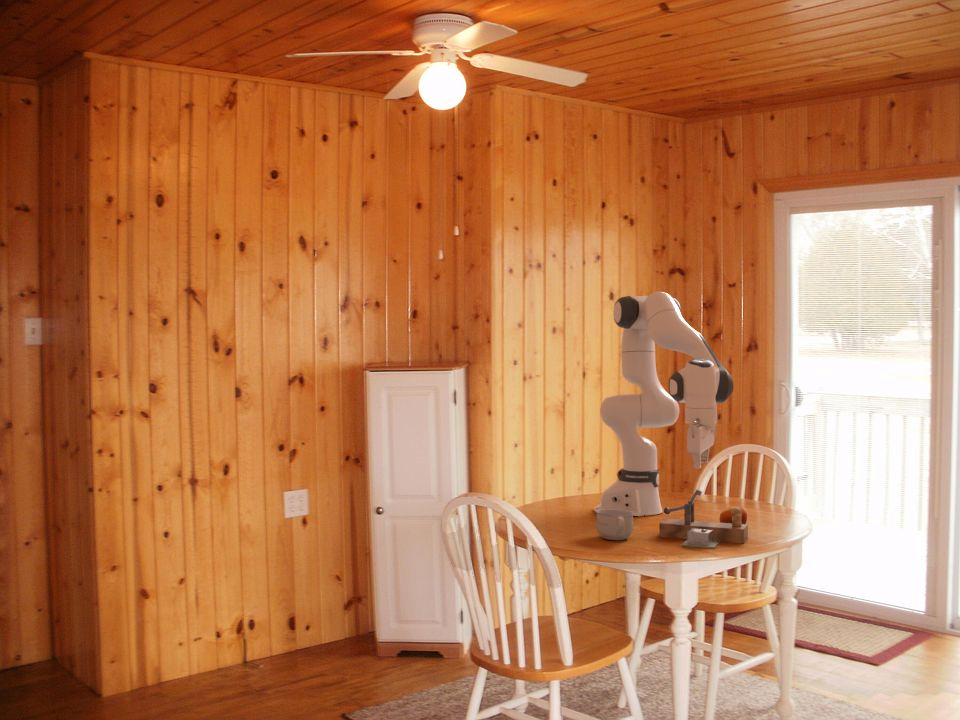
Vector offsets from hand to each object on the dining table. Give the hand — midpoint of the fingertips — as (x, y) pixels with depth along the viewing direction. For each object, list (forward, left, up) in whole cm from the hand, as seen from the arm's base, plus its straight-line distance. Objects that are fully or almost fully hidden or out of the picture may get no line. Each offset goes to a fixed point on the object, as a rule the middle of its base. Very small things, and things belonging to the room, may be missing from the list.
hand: (701, 465), depth 269 cm
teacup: (-24, -6, -22) cm, 33 cm away
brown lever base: (-1, +5, -22) cm, 22 cm away
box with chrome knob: (0, -4, -21) cm, 22 cm away
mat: (0, -4, -22) cm, 22 cm away
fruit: (+5, +20, -22) cm, 30 cm away
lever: (-4, +5, -13) cm, 15 cm away
